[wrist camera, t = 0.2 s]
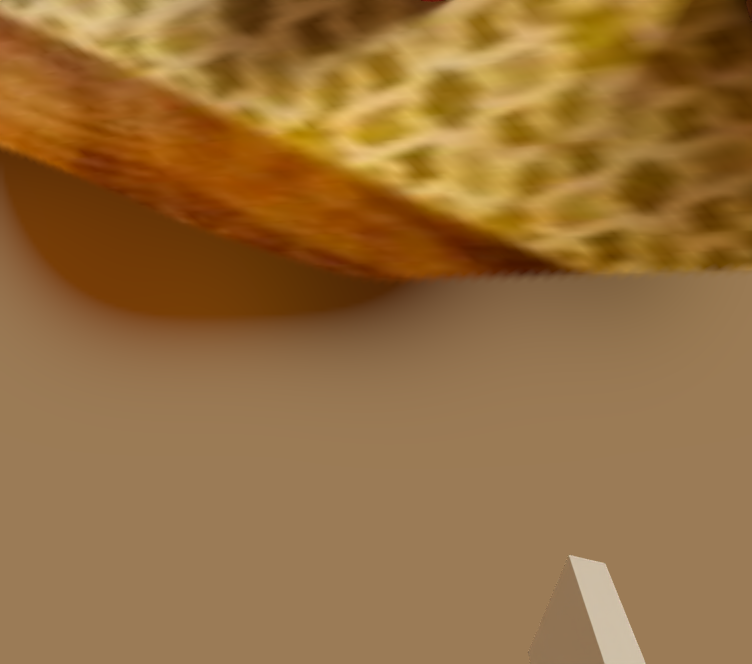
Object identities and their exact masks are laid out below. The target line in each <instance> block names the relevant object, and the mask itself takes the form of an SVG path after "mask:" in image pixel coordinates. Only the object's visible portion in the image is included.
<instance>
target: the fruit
mask: <svg viewBox="0 0 752 664" xmlns="http://www.w3.org/2000/svg"><path fill="white" fill-rule="evenodd" d="M746 4H747V10H748V13H749V17H750V20H751V22H752V0H746Z"/></svg>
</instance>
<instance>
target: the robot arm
mask: <svg viewBox="0 0 752 664" xmlns="http://www.w3.org/2000/svg"><path fill="white" fill-rule="evenodd" d="M528 654H529V660H530V664H646V663H645V661H644V659H643V656H642V654H641V651H640V648H639V646H638V644H637V641H636V639H635V636H634V634H633V631H632V629H631V626H630V624H629V621H628V619H627V616H626V614H625V611H624V609H623V607H622V604H621V602H620V599H619V597H618V594H617V592H616V589H615V587H614V584H613V582H612V579H611V577H610V574H609V572H608V570H607V567H606V565H605V563H601V562H597V561H593V560H588V559H584V558H580V557H575V556H571V555H569V556H568V558H567V560H566V563H565V565H564V568H563V570H562V572H561V575H560V577H559V580H558V582H557V584H556V587H555V589H554V592H553V594H552V596H551V599H550V601H549V604H548V606H547V608H546V611H545V613H544V615H543V618H542V620H541V623H540V625H539V627H538V630H537V632H536V634H535V637H534V639H533V642H532V644H531V646H530V649H529V651H528Z"/></svg>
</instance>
